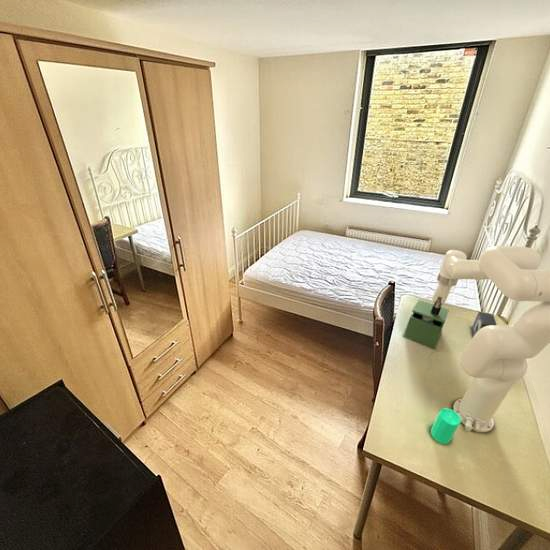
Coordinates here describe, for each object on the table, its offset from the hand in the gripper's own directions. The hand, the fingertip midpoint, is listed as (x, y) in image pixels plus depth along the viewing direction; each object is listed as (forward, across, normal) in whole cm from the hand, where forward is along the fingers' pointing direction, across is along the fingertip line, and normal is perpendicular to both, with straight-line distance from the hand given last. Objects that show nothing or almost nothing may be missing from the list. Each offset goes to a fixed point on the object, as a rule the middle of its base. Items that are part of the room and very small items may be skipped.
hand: (434, 313), depth 132 cm
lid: (+2, -3, -2) cm, 4 cm away
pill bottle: (+15, -2, -2) cm, 15 cm away
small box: (+16, -19, +21) cm, 32 cm away
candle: (+15, +48, +15) cm, 53 cm away
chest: (+16, -3, -2) cm, 16 cm away
